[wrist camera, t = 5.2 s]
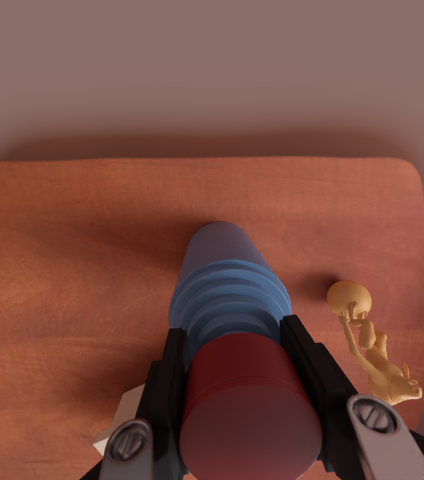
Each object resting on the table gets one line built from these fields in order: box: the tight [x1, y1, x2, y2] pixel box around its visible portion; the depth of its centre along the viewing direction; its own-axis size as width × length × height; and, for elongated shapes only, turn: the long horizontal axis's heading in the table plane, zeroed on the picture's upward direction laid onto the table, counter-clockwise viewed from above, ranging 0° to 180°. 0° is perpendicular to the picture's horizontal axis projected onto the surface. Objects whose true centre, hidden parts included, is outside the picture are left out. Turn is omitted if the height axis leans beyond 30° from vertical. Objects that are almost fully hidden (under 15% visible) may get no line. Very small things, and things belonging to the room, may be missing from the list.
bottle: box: [169, 222, 292, 360], centre depth 16 cm, size 7×7×18 cm
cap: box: [179, 332, 323, 480], centre depth 8 cm, size 4×4×2 cm
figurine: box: [327, 280, 422, 405], centre depth 20 cm, size 8×6×12 cm
